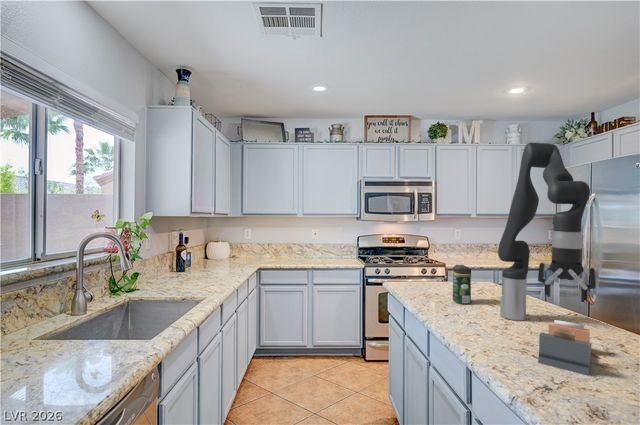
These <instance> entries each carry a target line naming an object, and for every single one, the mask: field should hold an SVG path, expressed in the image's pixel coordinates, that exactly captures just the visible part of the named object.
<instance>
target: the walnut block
mask: <svg viewBox="0 0 640 425" xmlns="http://www.w3.org/2000/svg"><path fill="white" fill-rule="evenodd" d="M554 335H556V336H561V337H566V338H570V339H575V332H573V331H568V330H563V329H558V328H556V329H555V331H554Z"/></svg>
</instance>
